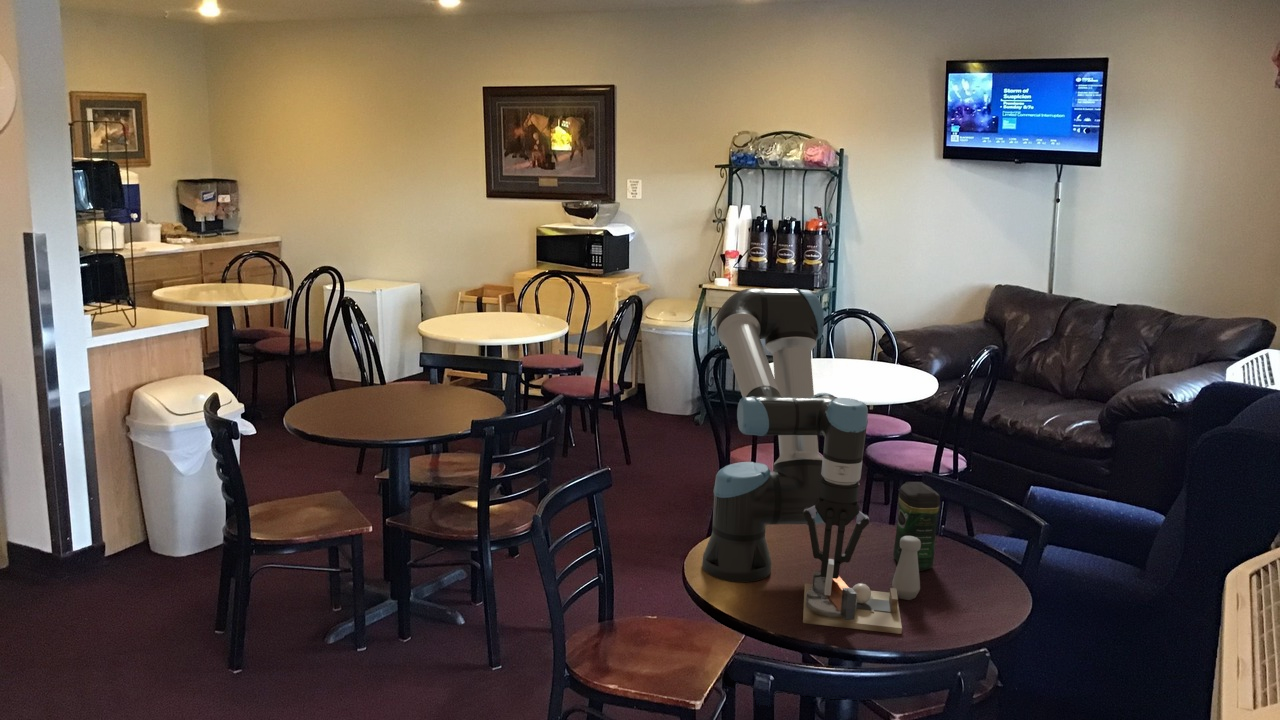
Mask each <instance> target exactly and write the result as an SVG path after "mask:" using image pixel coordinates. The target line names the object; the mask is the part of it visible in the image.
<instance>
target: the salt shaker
mask: <svg viewBox="0 0 1280 720" xmlns="http://www.w3.org/2000/svg"><path fill="white" fill-rule="evenodd" d="M900 548H901V549H902V551H901V555H900V559H899V562H897V565H896V568H895V573H894V575H893V579H892V581H891V582H892V583H891V584H892V585H891V588H896V590H897V596H898V599H900V600H907V601H911V600H914V599H916V597H917V595H918V594H919V592H920V590H921V580H920V571H919V567H918V555H917V551H919V550H920V548H921V541H920V540H919V539H918V538H916V537H914V536H904V537H902V538H901V539H900Z"/></svg>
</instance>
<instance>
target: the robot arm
mask: <svg viewBox="0 0 1280 720" xmlns="http://www.w3.org/2000/svg"><path fill="white" fill-rule="evenodd" d="M715 323H716V324H715V328H716V334H717V336H718V340H719V341H720V343H721V344H722V345H723V346H724V347H725V348H726V350H727V353H728V356H729V359H730V363H731V365H732V368H733V372H734V376H735V379H736V381H737V385H738V387H739V390H740V394H741V396H742V397H741V398H740V399H739V402H738V404H737V409H736V420H737V426H738V429H739V432H741V433H742V434H743V435H747V436H758V437H764V436H777V437H778V449H779V456H778V458H777V459H776V460H775V462H774V463H773V470H770V467H769V466H768V465H767V464H765V463H762V462H754V461H741V462H735V463H731V464H727V465H725V466H724V467H722V468H720V469H719V470H718V472H717V473H716V475H715V481H714V487H713V511H712V512H713V513H712V527H711V528H712V530H711V533H710V534H711V535H710V537H709V540H708V542H707V544H706V547H705V550H704V552H703V554H702V563H701V564H702V569H703V570H704V572H706V573H707V575H710V576H711V577H714V578H716V579H719V580H722V581H727V582H735V583H749V582H750V583H751V582H757V581H761V580H763V579H766V578H767V577H768V576H769V575H770V574H771V571H772V558H771V554H770V550H769V547H768V543H767V539H766V530H767V529H766V528H767V526H768V525H770V526H771V525H778V526H779V525H806V526H808V532H809V537H810V543H811V549H812V554H813V555H812V556H813V558H814V559H816V560H817V559H818V560H820V561H821V565H820V566H821V567H820V571H821V577H826V581H825V592H824V595H831V587H832V578H834V579H838V577H840V575H839V574H840V567H841V564H842V563H843V564H844V563H849V562H850V561H851V559H852V556H853V555H854V552H855V550H856V547H857V545H858V542H859V540H860V538H861V535H862V533H863V530H864V529H865V528H866V527H867V526H868V525H869V524H870V517H869V515H868V514H865V513H863V512H862V511H860V505H859V503H858V502H859V494H860V485H861V484H860V481H861V476H862V469H863V468H862V467H863V456H864V449H865V444H866V443H865V442H866V436H867V435H866V433H867V427H868V425H869V421H868V413H869V411H868V410H869V409H868V406H867V404H866V403H865V402H863V401H861V400H858V399H855V398H847V397H836V396H835V395H833V394H831V393H827V392H819V393H817V394H815V392H814V381H813V379H814V378H813V365H812V354H811V352H812V351H813V349H814V348H815V347H816V346H817V340H820V339H821V338H822V336H823V333H824V328H825V327H824V326H825V325H824V323H825V319H824V311H823V306H822V303H821V301H820V298H819V297H818V295H817V294H816V293H815V292H814V291H812V290H811V289H810V290H809V289H799V288H796V287H793V288H758V287H757V288H755V287H751V288H745V289H742V290H739V291H737V292H735V293H733V295H731V296H729V297H728V298H727V299H726V301H725V302H723V304H722V306H721V307H720V309H719V311H718V314H717V317H716V322H715ZM761 340H764V343H765V348H764V346H763V342H762V341H761ZM765 349H766V351H768V352H769V353H770V354H771V355H772V358H773V359H772V361H773V362H772V363H773V370H772V368H771V365H770V362H769V359H768V357H767V355H766V351H765ZM818 436H822V437H823V438H824V444H823V453H822V456H821V455H820V454H819V441H818ZM855 518H856V519H855ZM854 519H855V526H854V529H853V530H852V534H851V536H850V538H849V540H848V543H847V546H846V548H845V551H844V552H843V547H844V545H843V544H844V536H845V531H846V526H847V525H849V524H850V523H851V522H852V521H853V520H854ZM817 524H818V525H819V524H825V526H824V536H823V544H822V545H823V547H822V550H821V549H820V543H819V538H818V534H817V533H818V532H817ZM833 526H837V531H836V532H837V533H836V540H835V541H836V542H835V548H834V554H833V555H834V556H833V558H829V557H830V548H831V539H832V531H833V529H832V528H833Z"/></svg>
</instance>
